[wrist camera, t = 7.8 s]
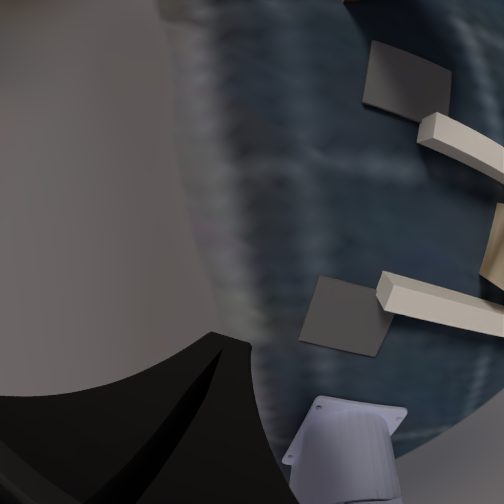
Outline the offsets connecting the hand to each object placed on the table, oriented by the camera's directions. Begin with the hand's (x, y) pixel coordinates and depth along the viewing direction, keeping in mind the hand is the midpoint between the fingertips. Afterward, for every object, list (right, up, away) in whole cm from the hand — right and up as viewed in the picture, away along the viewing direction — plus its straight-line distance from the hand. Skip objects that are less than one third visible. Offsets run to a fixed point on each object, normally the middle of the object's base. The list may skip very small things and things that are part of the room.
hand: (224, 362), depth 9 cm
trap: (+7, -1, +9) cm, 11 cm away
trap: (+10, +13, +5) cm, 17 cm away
